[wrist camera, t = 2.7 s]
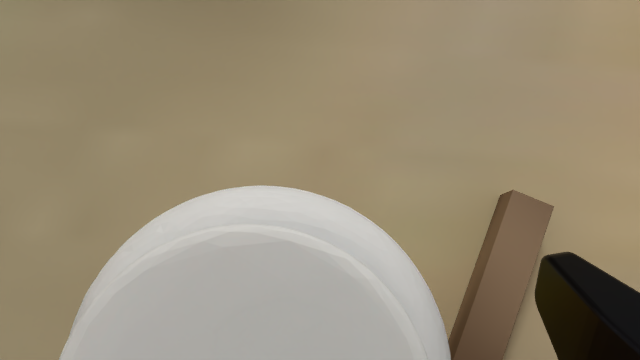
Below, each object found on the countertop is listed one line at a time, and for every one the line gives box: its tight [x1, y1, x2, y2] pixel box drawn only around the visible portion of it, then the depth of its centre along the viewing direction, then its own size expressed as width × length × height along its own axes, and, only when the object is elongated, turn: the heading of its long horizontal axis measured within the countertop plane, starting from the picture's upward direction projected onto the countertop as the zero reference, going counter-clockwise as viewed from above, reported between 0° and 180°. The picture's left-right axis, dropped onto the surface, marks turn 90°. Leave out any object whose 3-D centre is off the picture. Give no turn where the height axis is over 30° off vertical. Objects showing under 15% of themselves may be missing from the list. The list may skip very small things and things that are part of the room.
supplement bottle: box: [59, 186, 451, 360], centre depth 10 cm, size 6×6×10 cm
